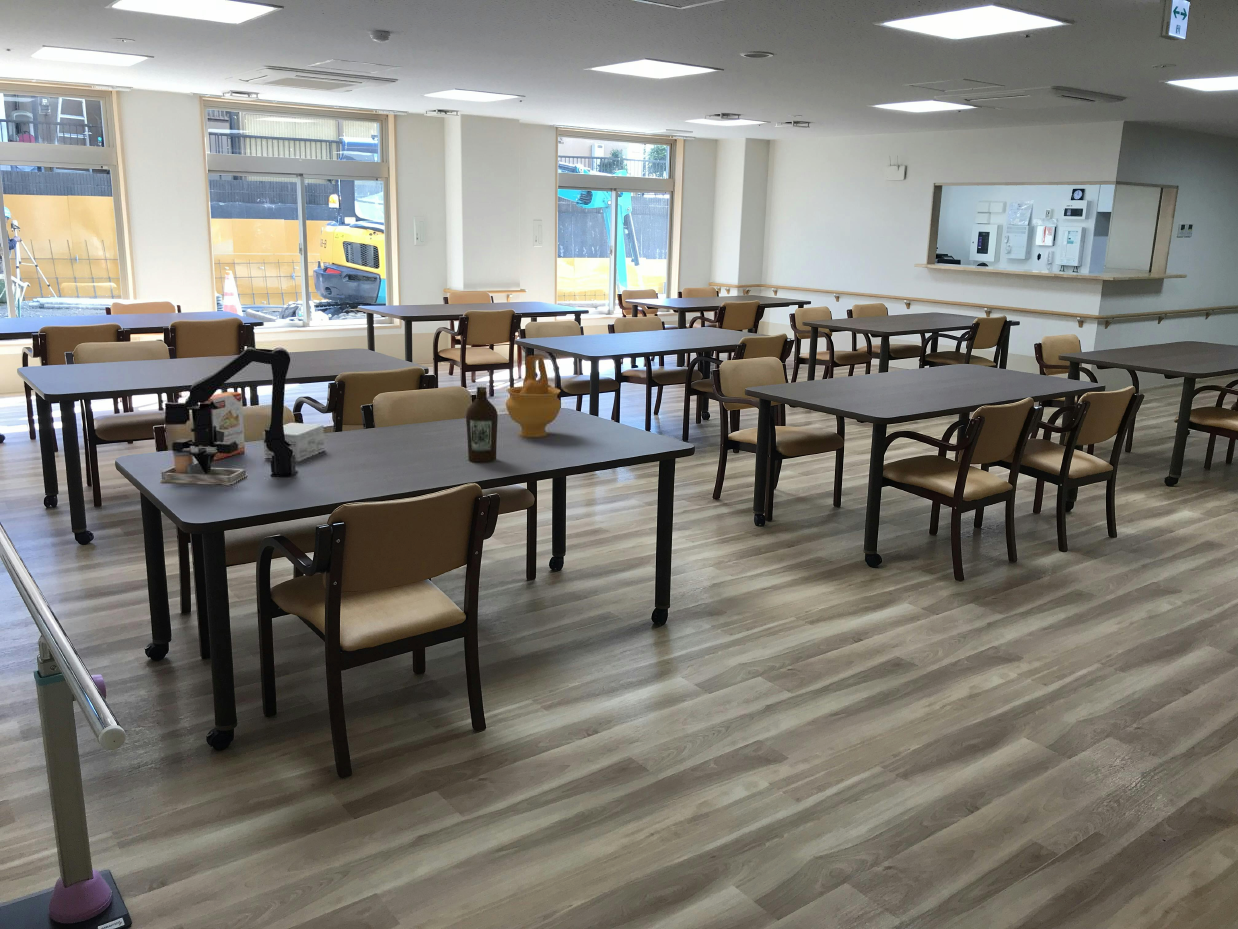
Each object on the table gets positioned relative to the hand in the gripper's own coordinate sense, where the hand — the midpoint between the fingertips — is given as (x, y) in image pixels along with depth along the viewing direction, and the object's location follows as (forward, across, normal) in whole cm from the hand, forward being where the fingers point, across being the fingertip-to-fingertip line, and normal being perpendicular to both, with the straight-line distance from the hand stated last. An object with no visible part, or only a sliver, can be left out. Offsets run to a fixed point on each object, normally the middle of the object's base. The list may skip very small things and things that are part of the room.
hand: (207, 473), depth 301 cm
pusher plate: (+2, +4, 0) cm, 4 cm away
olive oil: (+2, -76, -41) cm, 86 cm away
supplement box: (+2, -12, -36) cm, 38 cm away
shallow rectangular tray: (+2, +1, 0) cm, 2 cm away
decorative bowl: (+2, -85, -86) cm, 121 cm away
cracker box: (+2, +10, -30) cm, 32 cm away
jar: (+1, +7, 0) cm, 7 cm away
